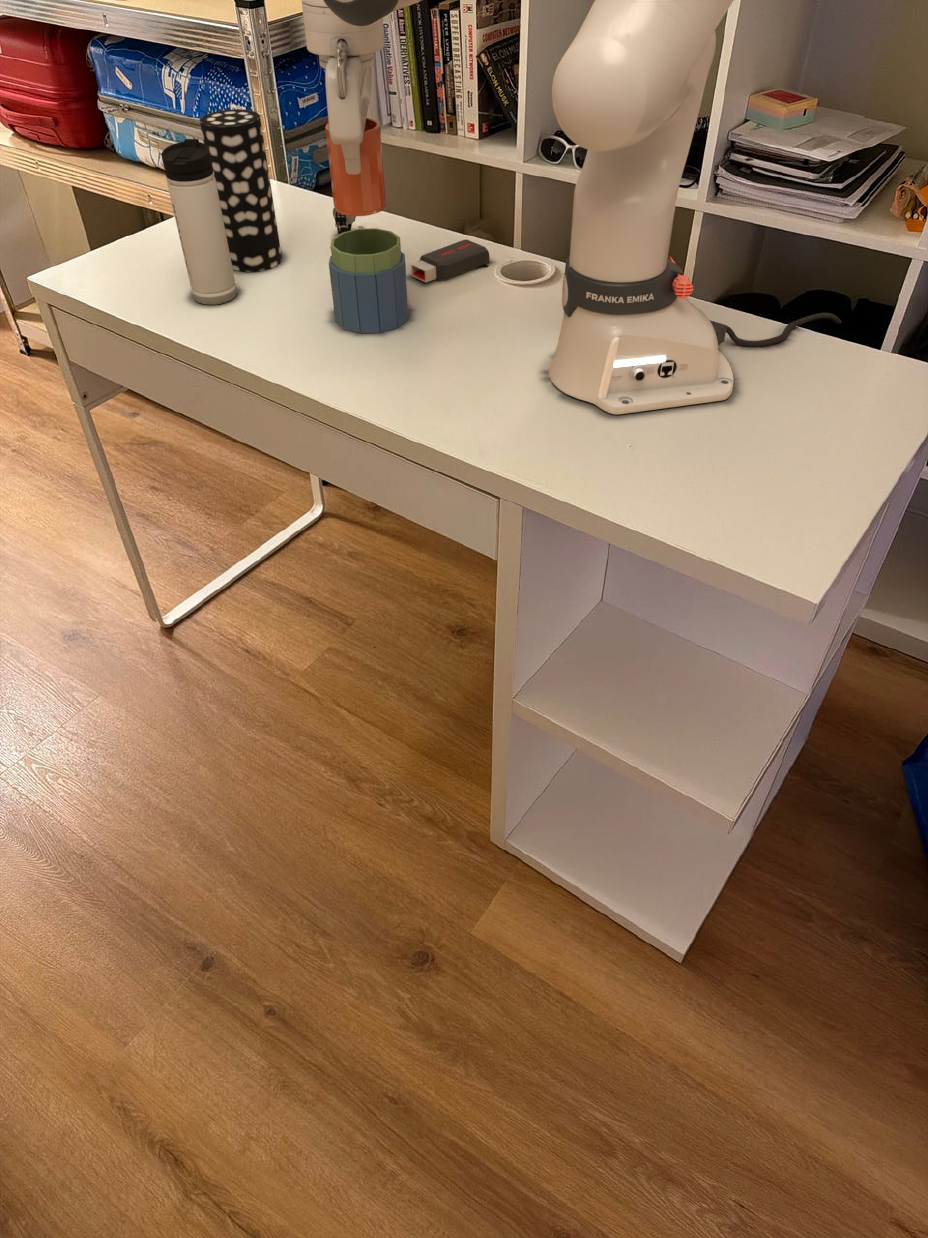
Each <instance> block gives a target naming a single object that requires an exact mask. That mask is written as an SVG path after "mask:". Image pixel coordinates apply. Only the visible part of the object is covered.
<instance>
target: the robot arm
mask: <svg viewBox="0 0 928 1238" xmlns="http://www.w3.org/2000/svg"><path fill="white" fill-rule="evenodd" d="M421 1H423V0H301V6H302V7H301V9H302V17H303V27H304V33H305V42H306V43H305V44H306V49H307V51H308V52H309V53H312V54H314V55H317V56H318V60H319V61H318V62H319V66H320V67H321V68H322V69H324V70H325V77H324V79H325V80H324V81H325V95H326V108H327V119H328V123H329V131H330V137H331V140H332V143H333V144H336V145H341V147H342V151H343V155H344V159H345V167H346V172H347V173H348V174H359V173H360V172H361V156H360V143H361V142H362V141H363V135H364V129H365V123H366V118H368V111H369V107H370V106H369V105H370V98H371V93H372V81H373V80H372V77H373V76H372V75H373V66H374V65H375V63H376V61H375V53H377V52H379V51H381V50H382V49H384V47H385V33H384V20H383V19H384V18H385V17H387V16H388V15H390V14H391V13H393V12H396V11H398V10H401V9H405V8H407V7H409V6H412V5H414V4H417V3H419V2H421ZM734 1H735V0H594V1H593V3H592V5H591V7H590V9H589V11H588V14H587V15H586V17H585V18H584V21H583V23H582V24H581V26H580V29H579V30H578V32H577V34H576V35H575V37H574V39H573V40H572V42H571V43H570V44H569V47H568V48H567V49H566V51H565V53H564V54H563V56H562V57H561V59H560V61H559V63H558V64H557V66H556V69H555V72H554V75H553V78H552V79H553V80H552V83H551V102H552V110H553V112H554V116H555V119H556V121H557V123H558V125H559V127H560V129H561V131H562V132H563V133H564V134H565V136H567V138H568V139H569V140H570V141H571V142H573V143H574V144H575V145H577V146H579V148H583V149H585V150H587V151H586V155H585V158H584V161H583V165H582V166H581V167H582V168H581V170H580V173H579V176H578V177H577V180H576V183H575V187H574V191H573V201H572V216H571V231H570V245H569V256H568V257H566V260H565V267H564V272H563V277H562V291H561V293H562V294H561V305H562V310H563V315H562V322H561V327H560V332H559V336H558V340H557V345H556V348H555V351H554V354H553V357H552V360H551V362H550V365H549V366H548V367H549V368H548V377H549V379H550V381H551V383H552V384H553V385H554V386H555V388H557V389H558V390H559V391H561V392H562V393H564V394H565V395H567V396H570V397H572V398H575V399H577V400H580V401H584V402H586V403H590V404H593V405H595V406H596V407H598V408H599V409H601V410H603V411H604V412H606V413H608V414H612V415H624V414H625V415H626V414H633V413H641V412H647V411H648V412H649V411H655V410H661V409H662V410H663V409H668V408H676V407H683V406H684V407H685V406H691V405H697V404H698V405H700V404H707V403H713V402H721V401H725V400H727V399H729V398H730V396H731V395H732V393H733V390H734V389H733V388H734V374H733V370H732V367H731V364H730V363H729V361H728V359H727V358H726V357H725V355H724V354H723V353H722V351H721V350H719V346H720V345H722V344H723V343H724V342H725V341H726V340H725V339H726V334H727V335H728V337H729V339H730V340H731V341H732V342H733V343H734V344H736V345H739V346H742V347H748V348H750V347H751V348H758V347H765V346H770V345H774V344H776V343H779V342H780V343H781V342H782V341H784V340H785V339H786V338H787V337H788V336H789V334H790V332H791V330H792V329H794V328H796V327H799V326H801V325H804V324H807V323H810V322H813V321H817V320H829V321H831V322H833V323H834V324H837V325H839V324H842V320H841V319H840V318H839V316H837V315H836V314H833V313H831V312H819V313H813V314H810V315H807V316H805V317H802V318H799V319H796V320H793V321H792V322H789V323H788V324H787V325H786V326H785V327H784V329H783V330H782V332H781V334H779V335H777V336H773V337H770V338H765V339H761V340H748V339H744V338H740V337H738V336H737V334H736V333H735V332H734V330H733V328H731V326H728V324H725V323H721V322H717V321H714V320H711V319H710V318H709V317H708V316H707V315H706V314H705V312H703V311H702V310H701V309H700V308H698V307H697V306H696V305H694V304H693V303H692V302H691V301H690V300H688V299H687V298H689V297H690V295H692V294H693V291H694V286H693V284H692V282H691V279H690V278H689V277H688V276H687V275H684V272H683V269H682V268H681V266H679V265H678V264H676V262H675V260H674V259H673V258H672V256H669V253H670V246H671V239H672V231H673V225H674V219H675V211H676V206H677V201H678V200H677V199H678V193H679V189H680V185H681V181H682V177H683V173H684V170H685V166H686V163H687V160H688V156H689V153H690V149H691V145H692V141H693V138H694V133H695V131H696V126H697V122H698V118H699V113H700V109H701V106H702V101H703V97H704V92H705V88H706V83H707V80H708V77H709V73H710V71H711V67H712V64H713V61H714V57H715V55H716V48H717V35H716V34H717V33H716V29H717V27H718V26H719V25H720V23H721V22H722V20H723V18H724V17H725V15H726V13H727V12H728V10H729V9H730V7H731V6H732V4H733V3H734Z"/></svg>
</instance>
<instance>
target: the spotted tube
mask: <svg viewBox="0 0 928 1238" xmlns="http://www.w3.org/2000/svg"><path fill="white" fill-rule="evenodd" d="M199 126H200V130H201V136H202V140H203V143H204V144H206V145H207V146H208V147H209V151H210V156H211V161H212V167H213V171H214V177H215V180H216V185H217V190H218V195H219V200H220V206H221V211H222V216H223V221H224V226H225V232H226V237H227V242H228V247H229V252H230V258H231V263H232V268H233V271H234V270H235V271H239V272H245V273H254V272H262V271H266V270H270V269H273V268H275V267H276V266H278V265H280V264H281V262H282V261H283V256H282V249H281V242H280V235H279V230H278V223H277V218H276V210H275V203H274V198H273V191H272V184H271V177H270V171H269V166H268V159H267V152H266V146H265V138H264V132H263V127H262V126H263V125H262V119H261V114H260V113H259V112H258V111H257V112H256V111H254V110H250V109H241V108H239V109H238V108H234V109H233V108H232V109H231V108H230V109H223V110H217V111H212V112H209V113H206V114H204V115H202V116H201V117H199Z"/></svg>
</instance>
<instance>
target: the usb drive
mask: <svg viewBox="0 0 928 1238" xmlns="http://www.w3.org/2000/svg"><path fill="white" fill-rule="evenodd" d="M490 258H491V257H490V252H489V250H488V248H487V247H486V246H484V245H481V244H479V243H477V242H475V241H472V240H469V239H462V240H460V241H457V242H454V243H451V244H448V245H446V246H443V247H441V248H440V247H439V248H438V249H435V250H433V251H430V252H427V253H425V254H422V255H420V256H419V261H417V262H414V263H412V264H410V272H411V273H410V274H411V277H413V278H415V279H416V280H419V281H421V282H423V283H429V282H431V281H437V282H441V281H447V280H450V279H453V278H455V277H457V276H460V275H462V274H465V273H468V272H469V271H473V270H475V269H477V268H480V267H482V266H485V265H487V264H489V263H490Z"/></svg>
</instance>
